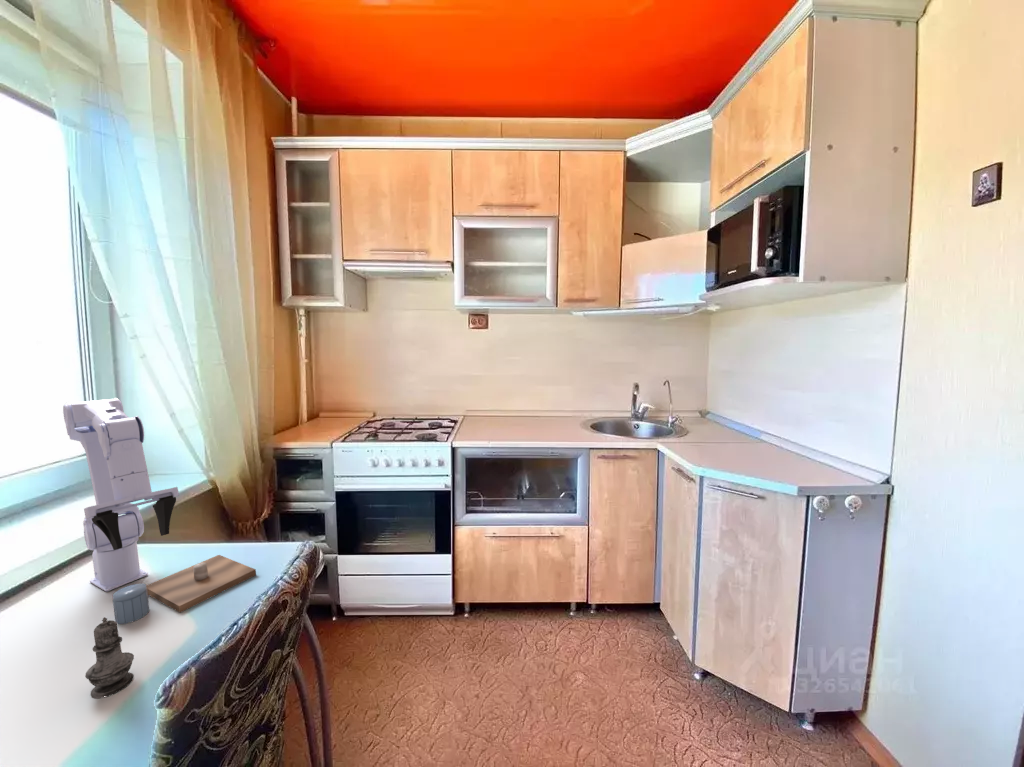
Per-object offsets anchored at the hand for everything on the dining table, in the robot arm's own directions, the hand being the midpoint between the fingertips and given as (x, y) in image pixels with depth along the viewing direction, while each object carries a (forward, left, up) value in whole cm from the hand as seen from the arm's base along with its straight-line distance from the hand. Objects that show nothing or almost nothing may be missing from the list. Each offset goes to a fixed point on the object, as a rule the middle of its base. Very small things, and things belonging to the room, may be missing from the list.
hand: (142, 541), depth 86 cm
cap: (-5, -1, -17) cm, 18 cm away
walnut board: (-5, +12, -17) cm, 21 cm away
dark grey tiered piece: (+15, -11, -17) cm, 25 cm away
